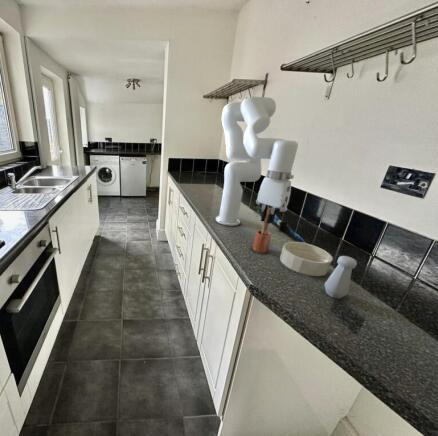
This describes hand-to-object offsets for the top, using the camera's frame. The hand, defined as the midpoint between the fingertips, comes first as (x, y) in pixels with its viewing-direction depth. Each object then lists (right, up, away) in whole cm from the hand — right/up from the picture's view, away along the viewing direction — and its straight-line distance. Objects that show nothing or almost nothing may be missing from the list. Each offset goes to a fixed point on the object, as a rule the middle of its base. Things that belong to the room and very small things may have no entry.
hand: (266, 221), depth 91 cm
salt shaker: (+11, -23, -19) cm, 32 cm away
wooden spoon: (0, -12, +5) cm, 13 cm away
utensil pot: (-1, -12, +5) cm, 13 cm away
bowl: (+11, -16, -5) cm, 20 cm away
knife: (+21, -6, +22) cm, 31 cm away
